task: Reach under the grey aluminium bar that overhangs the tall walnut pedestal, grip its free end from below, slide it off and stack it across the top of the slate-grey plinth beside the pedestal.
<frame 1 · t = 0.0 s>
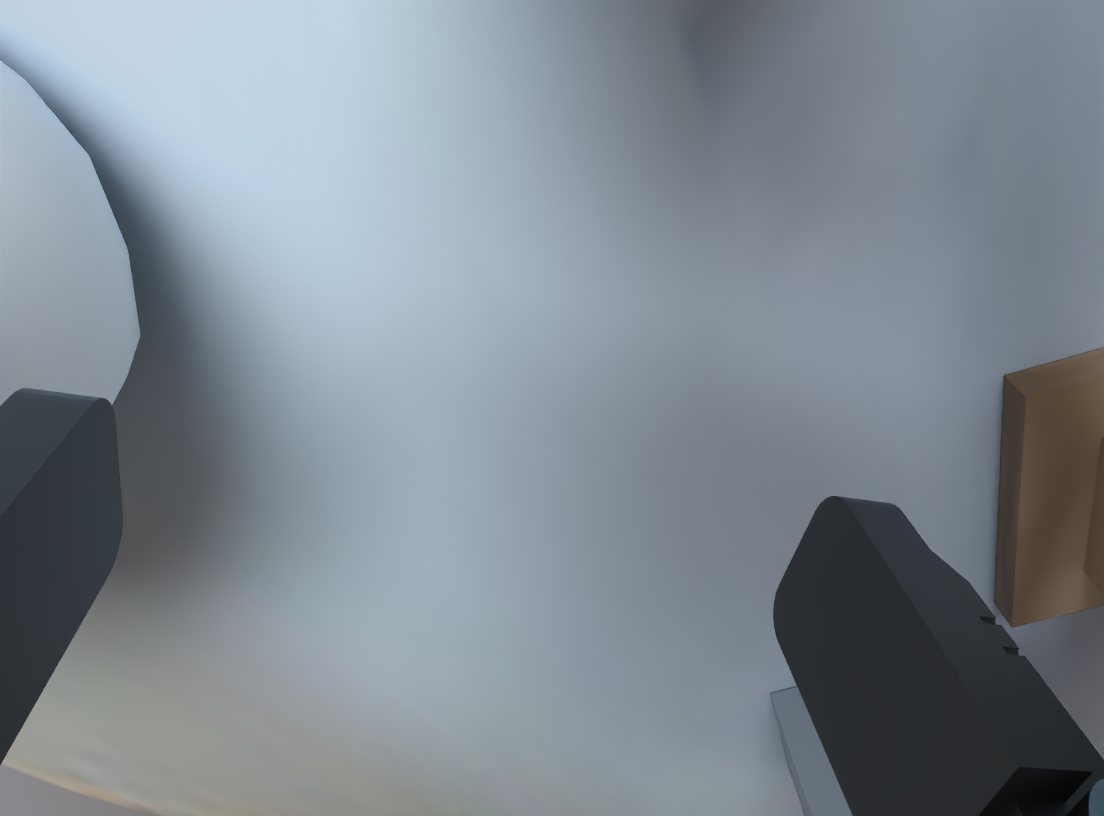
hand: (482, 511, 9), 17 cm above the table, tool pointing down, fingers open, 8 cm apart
slate plinth: (888, 707, 42), on the table
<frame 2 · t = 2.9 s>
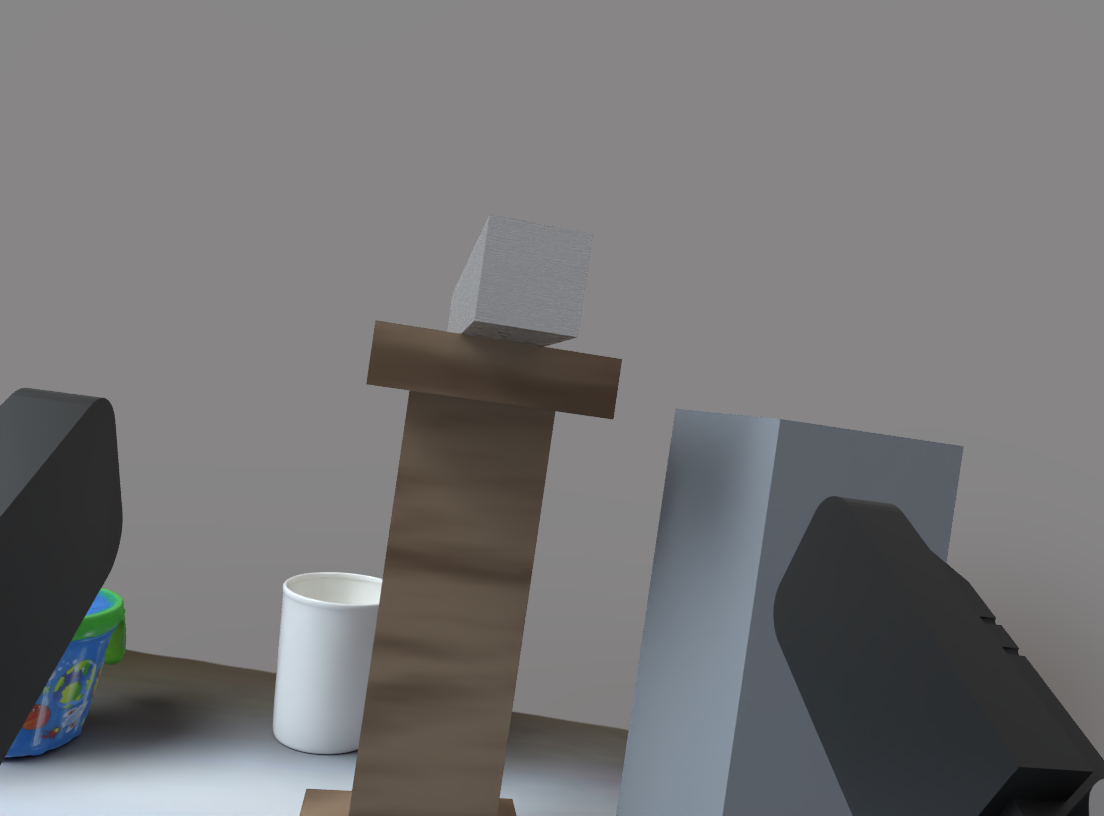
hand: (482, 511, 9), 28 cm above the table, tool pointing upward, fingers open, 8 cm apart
aluminium bar: (491, 345, 42), point 32 cm above the table, touching walnut pedestal
snack cup: (21, 741, 56), on the table
candle holder: (324, 733, 64), on the table
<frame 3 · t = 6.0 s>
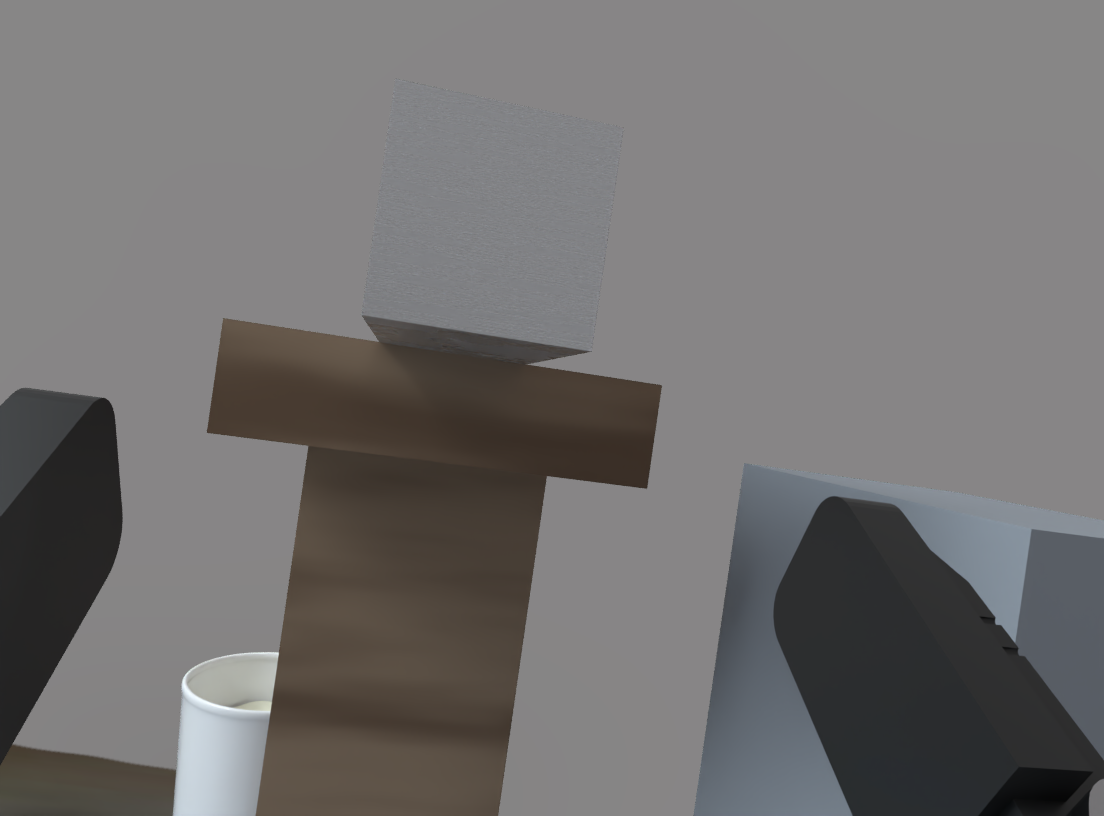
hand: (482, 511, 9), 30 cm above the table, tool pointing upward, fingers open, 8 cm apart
aluminium bar: (445, 359, 26), point 32 cm above the table, touching walnut pedestal
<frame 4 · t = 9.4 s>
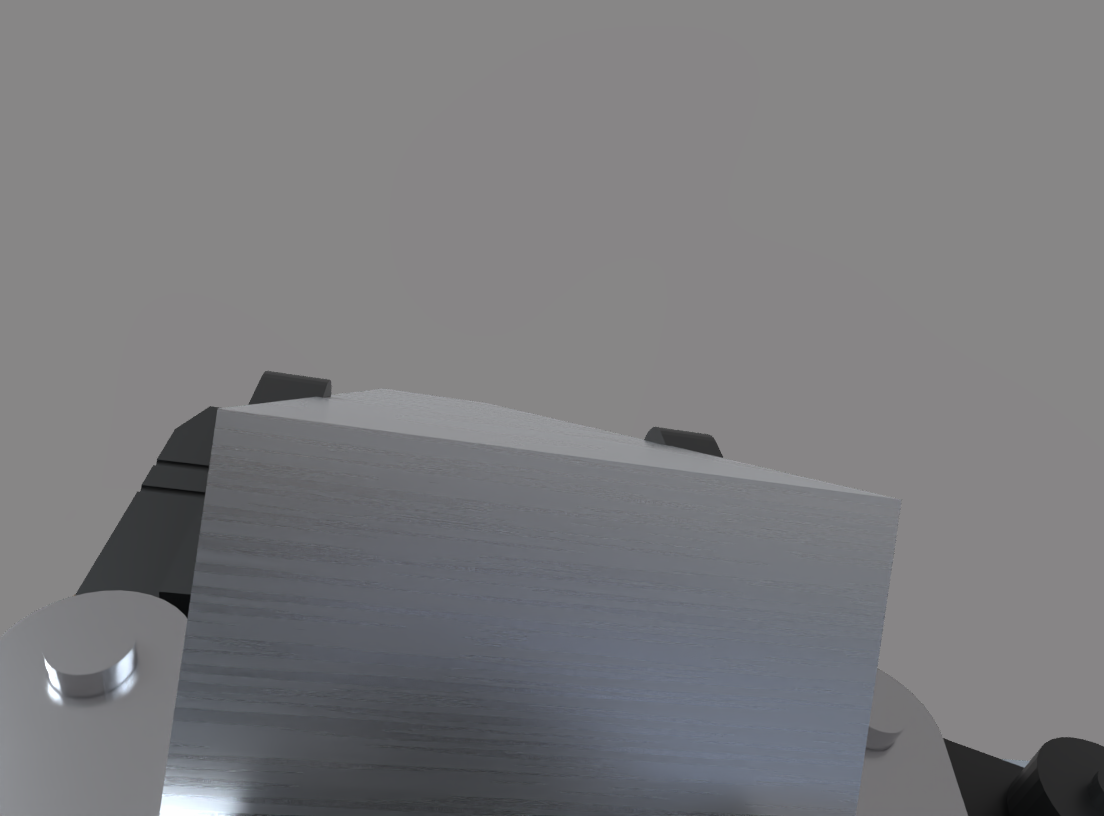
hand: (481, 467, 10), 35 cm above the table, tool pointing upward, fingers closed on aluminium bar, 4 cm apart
aluminium bar: (430, 582, 17), point 32 cm above the table, touching gripper, walnut pedestal
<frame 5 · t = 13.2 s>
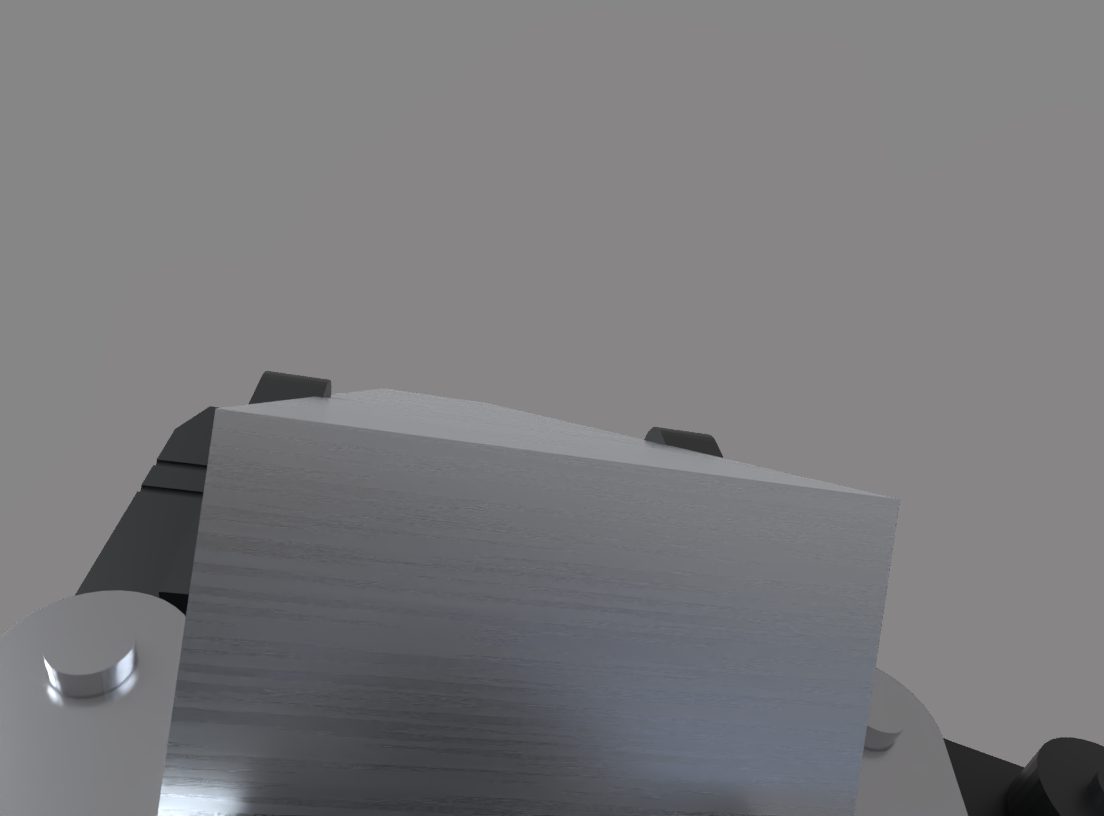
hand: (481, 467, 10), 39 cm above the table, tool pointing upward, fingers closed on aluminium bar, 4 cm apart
aluminium bar: (429, 582, 17), point 36 cm above the table, touching gripper
when the fingers open (36 cm above the table, at t = 16.9 s): aluminium bar drops 2 cm, resting on slate plinth.
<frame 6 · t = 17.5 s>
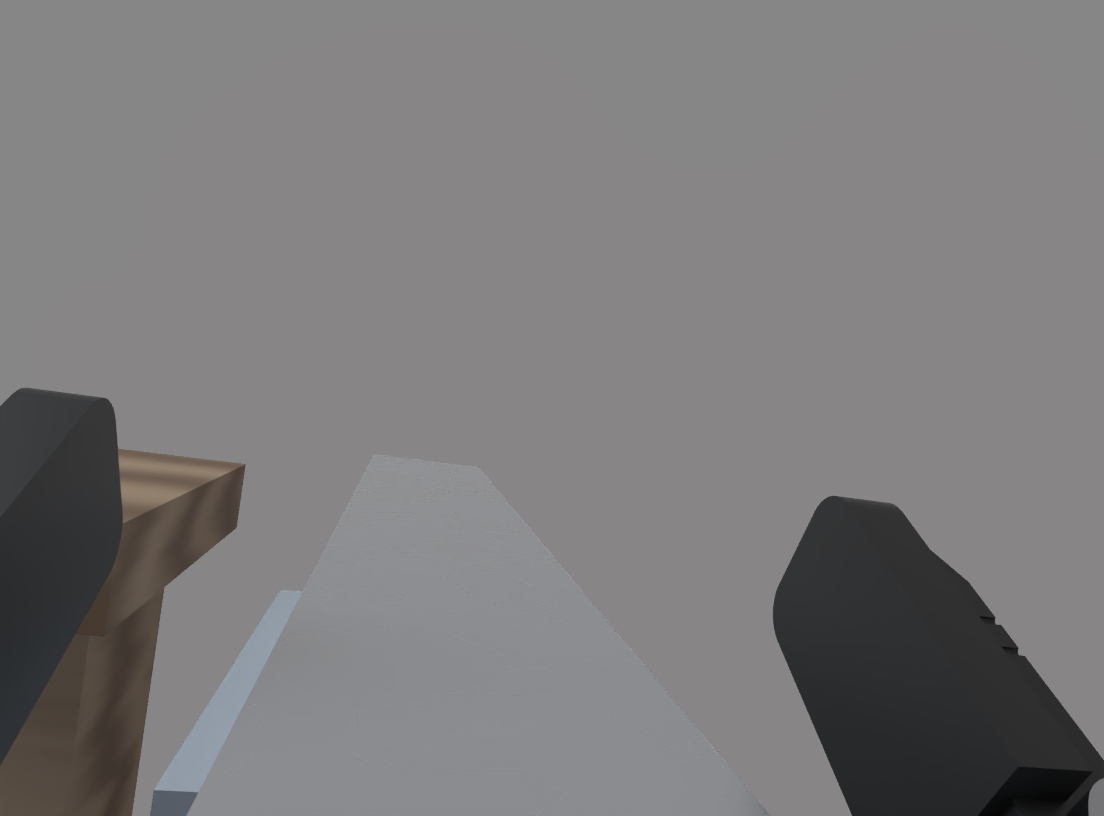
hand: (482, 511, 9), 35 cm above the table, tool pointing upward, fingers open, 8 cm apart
aluminium bar: (413, 698, 17), point 30 cm above the table, touching slate plinth
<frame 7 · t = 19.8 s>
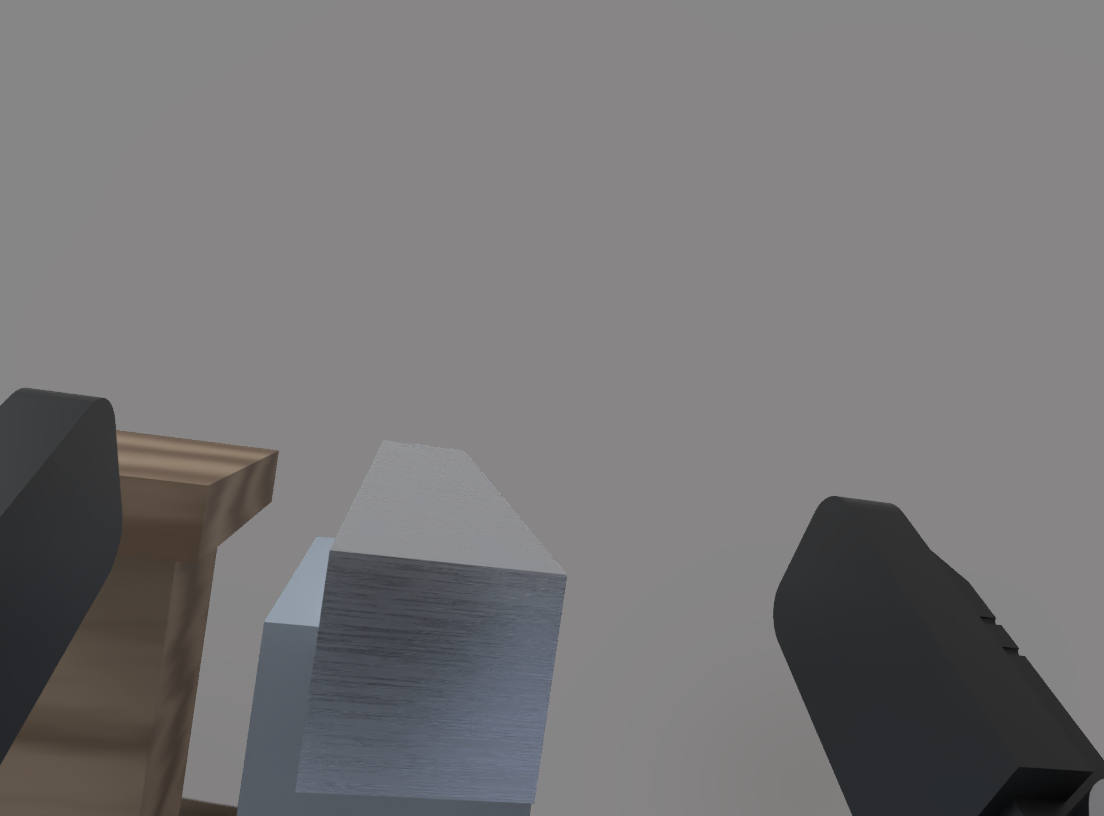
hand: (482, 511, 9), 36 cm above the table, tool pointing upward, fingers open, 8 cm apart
aluminium bar: (414, 593, 26), point 30 cm above the table, touching slate plinth
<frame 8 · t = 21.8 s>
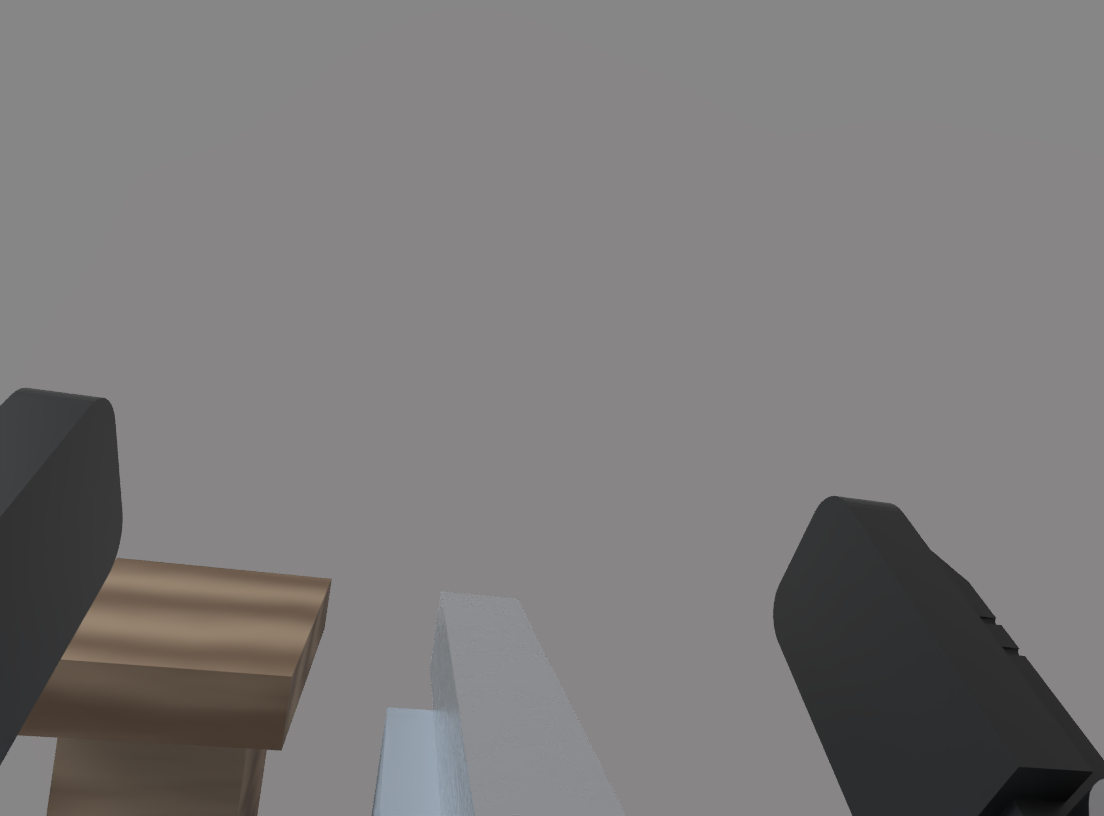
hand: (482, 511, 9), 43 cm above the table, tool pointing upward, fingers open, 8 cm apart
aluminium bar: (495, 803, 28), point 30 cm above the table, touching slate plinth
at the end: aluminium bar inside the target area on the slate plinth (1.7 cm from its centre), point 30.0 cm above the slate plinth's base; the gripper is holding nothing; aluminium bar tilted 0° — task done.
